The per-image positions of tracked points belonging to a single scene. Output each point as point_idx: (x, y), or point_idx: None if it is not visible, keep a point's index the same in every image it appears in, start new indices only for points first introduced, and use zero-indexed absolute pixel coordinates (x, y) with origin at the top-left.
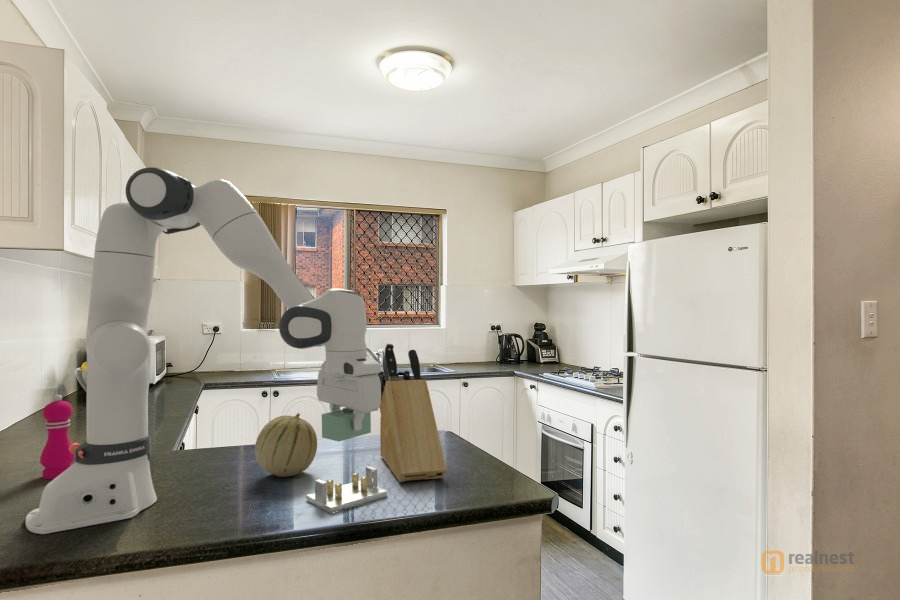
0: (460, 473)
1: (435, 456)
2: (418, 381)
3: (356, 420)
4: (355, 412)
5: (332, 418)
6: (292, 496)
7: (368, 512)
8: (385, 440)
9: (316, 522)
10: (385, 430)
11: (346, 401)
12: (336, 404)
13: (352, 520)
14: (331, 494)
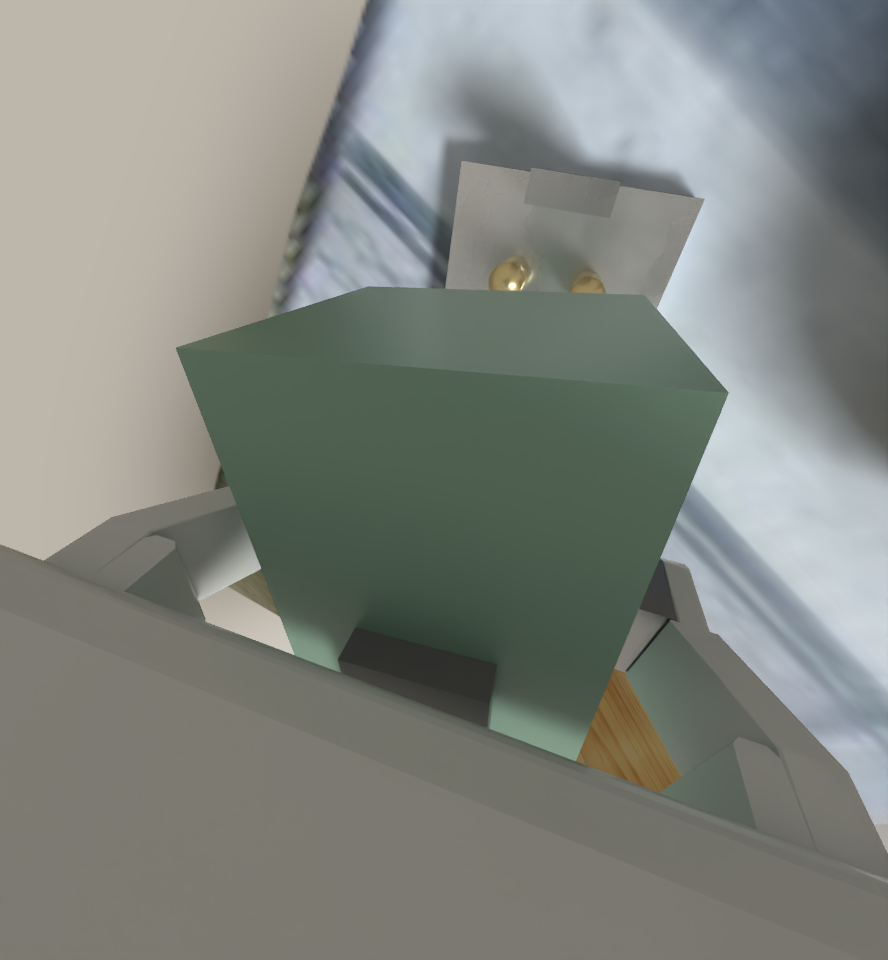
0: None
1: None
2: None
3: (212, 500)
4: (106, 546)
5: (357, 349)
6: (832, 191)
7: (371, 285)
8: (643, 715)
9: (445, 23)
10: (649, 758)
11: (49, 727)
12: (529, 757)
13: (352, 181)
14: (571, 283)
